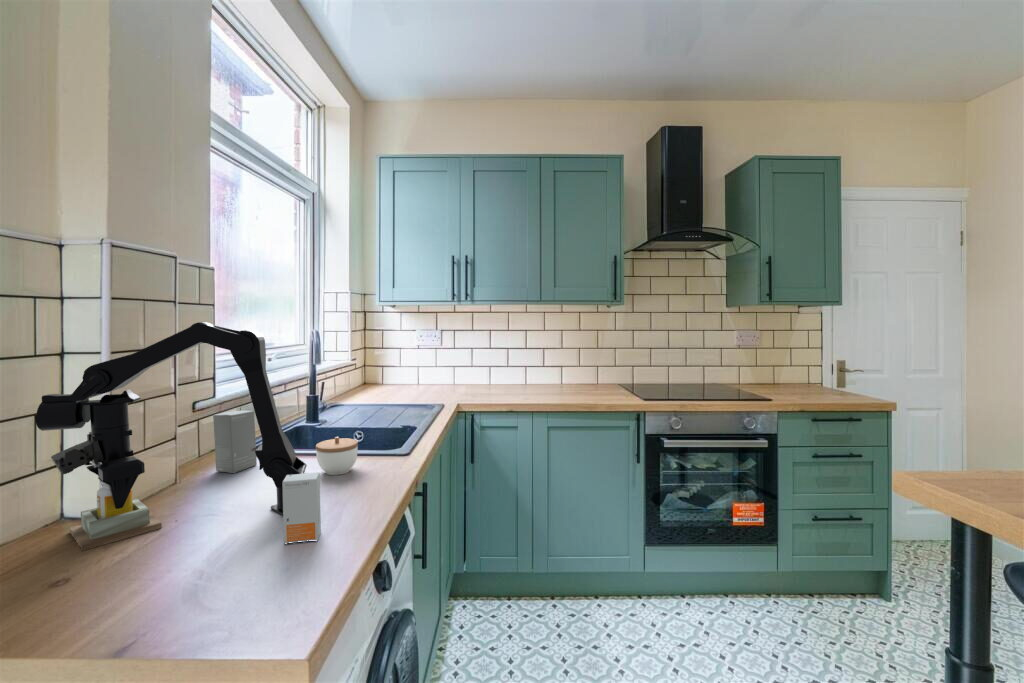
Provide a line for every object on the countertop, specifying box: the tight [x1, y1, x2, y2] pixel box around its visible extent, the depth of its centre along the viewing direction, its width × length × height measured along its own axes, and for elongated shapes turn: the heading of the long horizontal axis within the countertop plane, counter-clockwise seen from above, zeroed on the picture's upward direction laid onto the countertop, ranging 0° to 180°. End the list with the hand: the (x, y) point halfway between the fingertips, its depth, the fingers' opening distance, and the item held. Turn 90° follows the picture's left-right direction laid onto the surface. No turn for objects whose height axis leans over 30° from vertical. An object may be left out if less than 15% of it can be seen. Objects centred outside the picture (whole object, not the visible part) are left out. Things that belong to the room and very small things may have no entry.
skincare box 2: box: [282, 472, 322, 544], centre depth 91 cm, size 6×4×12 cm
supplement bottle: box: [96, 482, 133, 520], centre depth 96 cm, size 5×5×10 cm
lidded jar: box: [315, 436, 359, 476], centre depth 130 cm, size 11×11×9 cm
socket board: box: [69, 498, 163, 551], centre depth 95 cm, size 12×12×4 cm
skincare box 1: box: [212, 410, 258, 474], centre depth 134 cm, size 8×7×16 cm
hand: (114, 504), depth 95 cm, fingers open, 6 cm apart
